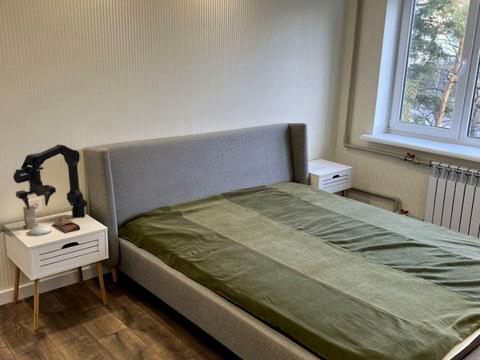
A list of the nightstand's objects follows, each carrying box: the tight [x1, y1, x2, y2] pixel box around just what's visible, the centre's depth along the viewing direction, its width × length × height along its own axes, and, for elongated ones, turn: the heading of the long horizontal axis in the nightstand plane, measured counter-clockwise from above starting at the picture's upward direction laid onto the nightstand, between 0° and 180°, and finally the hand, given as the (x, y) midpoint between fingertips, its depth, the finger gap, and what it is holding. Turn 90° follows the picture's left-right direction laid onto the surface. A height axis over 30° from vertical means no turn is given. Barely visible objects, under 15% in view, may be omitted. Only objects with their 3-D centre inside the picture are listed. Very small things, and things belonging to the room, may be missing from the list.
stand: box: [29, 224, 52, 236], centre depth 244 cm, size 10×10×2 cm
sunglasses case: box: [51, 216, 81, 234], centre depth 251 cm, size 18×7×7 cm, turn 47°
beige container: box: [22, 204, 39, 231], centre depth 249 cm, size 5×6×12 cm
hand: (37, 207), depth 242 cm, fingers open, 9 cm apart
